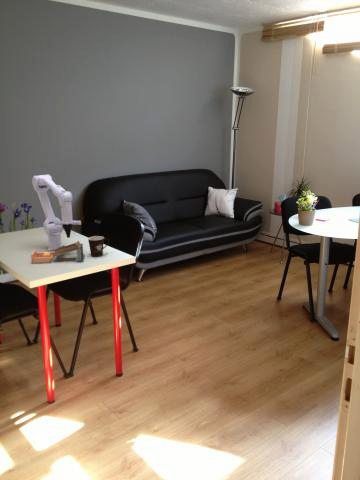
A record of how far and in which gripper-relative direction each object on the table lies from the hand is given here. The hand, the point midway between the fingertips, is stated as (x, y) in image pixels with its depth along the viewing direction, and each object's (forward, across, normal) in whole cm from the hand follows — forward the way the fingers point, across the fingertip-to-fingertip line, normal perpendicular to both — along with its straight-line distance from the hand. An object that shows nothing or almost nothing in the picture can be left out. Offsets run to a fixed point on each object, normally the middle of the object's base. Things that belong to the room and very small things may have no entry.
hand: (68, 237), depth 247 cm
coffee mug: (+10, +17, -4) cm, 20 cm away
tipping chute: (+5, 0, -6) cm, 8 cm away
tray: (+10, -13, -10) cm, 19 cm away
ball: (+7, -11, -10) cm, 17 cm away
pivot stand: (+10, +7, -10) cm, 16 cm away
